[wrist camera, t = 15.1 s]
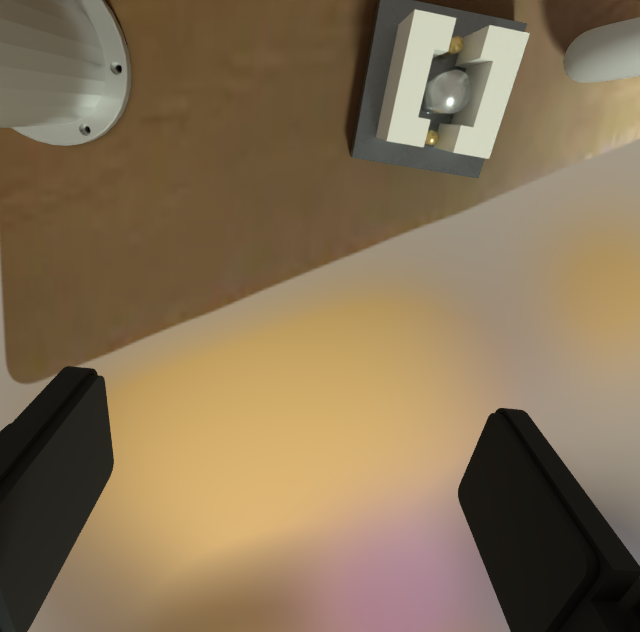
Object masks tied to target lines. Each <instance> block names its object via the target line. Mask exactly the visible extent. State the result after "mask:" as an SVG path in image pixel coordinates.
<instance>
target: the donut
mask: <svg viewBox="0 0 640 632" xmlns="http://www.w3.org/2000/svg"><path fill="white" fill-rule="evenodd" d="M563 62H564V70H565V72H566V74H567V75H568V76H569V77H570V78H571V79H572V80H574V81H577V82H580V83H582V82H601V81H609V80H617V79H624V78H631V77H637V76H640V17H637V18H633V19H629V20H625V21H620V22H616V23H612V24H608V25H604V26H600V27H597V28H593V29H591V30H588V31H585V32H583V33H582V34H581V35H579V36H578V37H576V38H575V39H574V41H573V42H572V43H571V44H570V45H569V47H568V49H567V51H566V53H565V57H564V61H563Z"/></svg>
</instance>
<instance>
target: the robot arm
mask: <svg viewBox="0 0 640 632" xmlns="http://www.w3.org/2000/svg"><path fill="white" fill-rule="evenodd" d="M118 66H121V67H122V72H121V73H120V72H119V71H118ZM130 87H131V64H130V58H129V52H128V47H127V44H126V41H125V38H124V35H123V32H122V29H121V28H120V26H119V24H118V22H117V20H116V18H115V16H114V14H113V12H112V10H111V9H110V7H109V6H108V5H107V3H106V2H105V0H0V128H9V127H11V128H13V129H14V130H16V131H17V132H19V133H21V134H22V135H25V136H27V137H29V138H32V139H34V140H36V141H40V142H44V143H48V144H52V145H66V146H68V145H77V144H82V143H86V142H90V141H93V140H95V139H97V138H99V137H101V136H103V135H104V134H106V133H107V132H108V131H109V130H110V129H111V128H112V127H113V126H115V124H116V123H117V121H118V120H119V118H120V117H121V115H122V114H123V112H124V109H125V107H126V104H127V102H128V98H129V93H130ZM88 127H89V128H90V130H91V132H89V131H88V130H87V128H88ZM113 464H114V459H113V449H112V440H111V432H110V423H109V414H108V406H107V396H106V388H105V381H104V378H103V376H98V375H97V372H96V371H95V369H91V368H81V367H70V366H68V367H65V368H64V369H62V370H61V371H60V372H59V373H58V375H57V376H56V377H55V378H54V379H53V380H52V381H51V382H50V383H49V384H48V385H47V386H46V387H45V388H44V390H43V391H42V392H41V393H40V394H39V395H38V396H37V397H36V398H35V399H34V400H33V401H32V402H31V403H30V404H29V406H28V407H27V408H26V409H25V410H24V411H23V412H22V413H21V414H20V415H19V416H18V417H17V419H15V420H14V422H13V423H11V424H9V425H7V426H6V427H5V428H4V429H3V430H1V431H0V632H27V631H28V629H29V628H30V626H31V624H32V623H33V621H34V619H35V617H36V615H37V613H38V611H39V609H40V608H41V606H42V604H43V602H44V600H45V598H46V596H47V594H48V592H49V591H50V589H51V587H52V585H53V583H54V581H55V579H56V577H57V576H58V573H59V572H60V570H61V568H62V566H63V564H64V562H65V560H66V559H67V557H68V555H69V553H70V551H71V549H72V547H73V545H74V543H75V542H76V540H77V537H78V536H79V534H80V532H81V530H82V528H83V527H84V525H85V523H86V521H87V519H88V517H89V515H90V513H91V512H92V510H93V508H94V506H95V504H96V502H97V500H98V498H99V497H100V495H101V493H102V491H103V489H104V487H105V485H106V483H107V481H108V480H109V478H110V475H111V473H112V470H113ZM458 498H459V501H460V505H461V507H462V510H463V512H464V515H465V517H466V520H467V522H468V525H469V527H470V530H471V532H472V535H473V537H474V540H475V542H476V545H477V548H478V550H479V553H480V555H481V558H482V560H483V563H484V565H485V567H486V570H487V573H488V575H489V578H490V580H491V583H492V585H493V588H494V590H495V593H496V595H497V598H498V601H499V603H500V605H501V608H502V611H503V613H504V616H505V618H506V621H507V623H508V626H509V628H510V631H511V632H640V566H639V565H638V563H637V562H636V561H635V559H634V558H633V557H632V555H631V554H630V553H629V551H628V550H627V548H626V547H625V546H624V544H623V543H622V542H621V540H620V539H619V537H617V535H616V533H615V532H614V531H613V529H612V528H611V527H610V525H609V524H608V523H607V521H606V520H605V519H604V517H603V516H602V514H601V513H600V512H599V510H598V509H597V508H596V507H595V505H594V504H593V502H592V501H591V499H590V498H589V497H588V496H587V494H586V493H585V491H584V490H583V489H582V487H581V486H580V485H579V483H578V482H577V481H576V479H575V478H574V476H573V475H572V474H571V472H570V471H569V470H568V468H567V467H566V466H565V464H564V463H563V461H562V460H561V459H560V457H559V456H558V455H557V453H556V452H555V451H554V449H553V448H552V446H551V445H550V444H549V443H548V441H547V440H546V438H545V437H544V436H543V434H542V433H541V432H540V430H539V429H538V427H537V426H536V425H535V423H534V422H533V421H532V419H531V418H530V417H529V415H528V414H527V413H526V412H525V411H523V410H517V409H506V408H499V409H498V410H496V412H495V413H492V414H490V416H489V417H488V419H487V422H486V424H485V426H484V429H483V431H482V433H481V436H480V438H479V440H478V443H477V445H476V448H475V450H474V452H473V455H472V457H471V459H470V462H469V464H468V466H467V469H466V471H465V473H464V476H463V478H462V480H461V483H460V485H459V488H458Z"/></svg>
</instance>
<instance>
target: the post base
mask: <svg viewBox="0 0 640 632" xmlns="http://www.w3.org/2000/svg"><path fill="white" fill-rule="evenodd" d="M415 9H416V10H421V11H426V12H430V13H435V14H440V15H445V16H449V17H454V18H456V22H455V26H454V30H453V34H452V38H451V42H450V46H449V50H448V52H446V53H444V54H441V55H439V56H437V57H434V58H432V62H431V66H430V70H429V74H428V78H427V83H426V87H425V91H424V95H423V99H422V103H421V108H420V112H419V116H418V117H419V118H424V119H430V120H431V121H430V124H429V128H428V132H427V136H426V140H425V144H424V147H418V146H412V145H406V144H401V143H395V142H389V141H385V140H382V139H380V138H377V137H376V134H377V129H378V124H379V119H380V114H381V109H382V104H383V99H384V94H385V89H386V84H387V79H388V74H389V69H390V64H391V59H392V55H393V50H394V45H395V40H396V35H397V30H398V25H399V24H400V23H401V22H402V21H403V20H404V19H405V18H406V17H407V16H408V15H409V14H410V13H412V12H413V11H414V10H415ZM489 25H492V26H497V27H502V28H507V29H512V30H516V31H521V32H525V28H526V25H527V23H522V22H517V21H512V20H507V19H502V18H497V17H493V16H488V15H483V14H478V13H473V12H468V11H463V10H458V9H453V8H449V7H444V6H439V5H434V4H429V3H424V2H419V1H414V0H377V4H376V9H375V15H374V21H373V26H372V32H371V38H370V44H369V49H368V55H367V61H366V66H365V72H364V78H363V84H362V89H361V95H360V101H359V106H358V112H357V118H356V124H355V129H354V135H353V141H352V146H351V152H350V156H351V157H352V158H357V159H363V160H369V161H375V162H382V163H388V164H394V165H400V166H406V167H412V168H418V169H424V170H430V171H436V172H443V173H449V174H455V175H461V176H467V177H473V178H479V175H480V171H481V168H482V165H483V162H484V159H485V158H481V157H475V156H469V155H464V154H458V153H453V152H449V151H445V150H442V149H438V148H435V147H434V144H436V143H437V142H438V140H439V134H438V129H439V125H440V123H441V124H451V122H452V118H453V115H454V113H456V112H458V111H460V110H462V109H463V108H464V107H465V106H466V105H467V103H468V102H469V100H470V97H471V94H472V83H471V80H470V78H469V77H468V75H467V74H466V73H465V71H466V68H463V67H458V66H455V64H456V60H457V57H458V53H459V52H460V51H461V50H462V48H463V46H464V41H463V39H462V38H463V37H465V36H467V35H470V34H472V33H474V32H476V31H478V30H480V29H482V28H484V27H486V26H489Z"/></svg>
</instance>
